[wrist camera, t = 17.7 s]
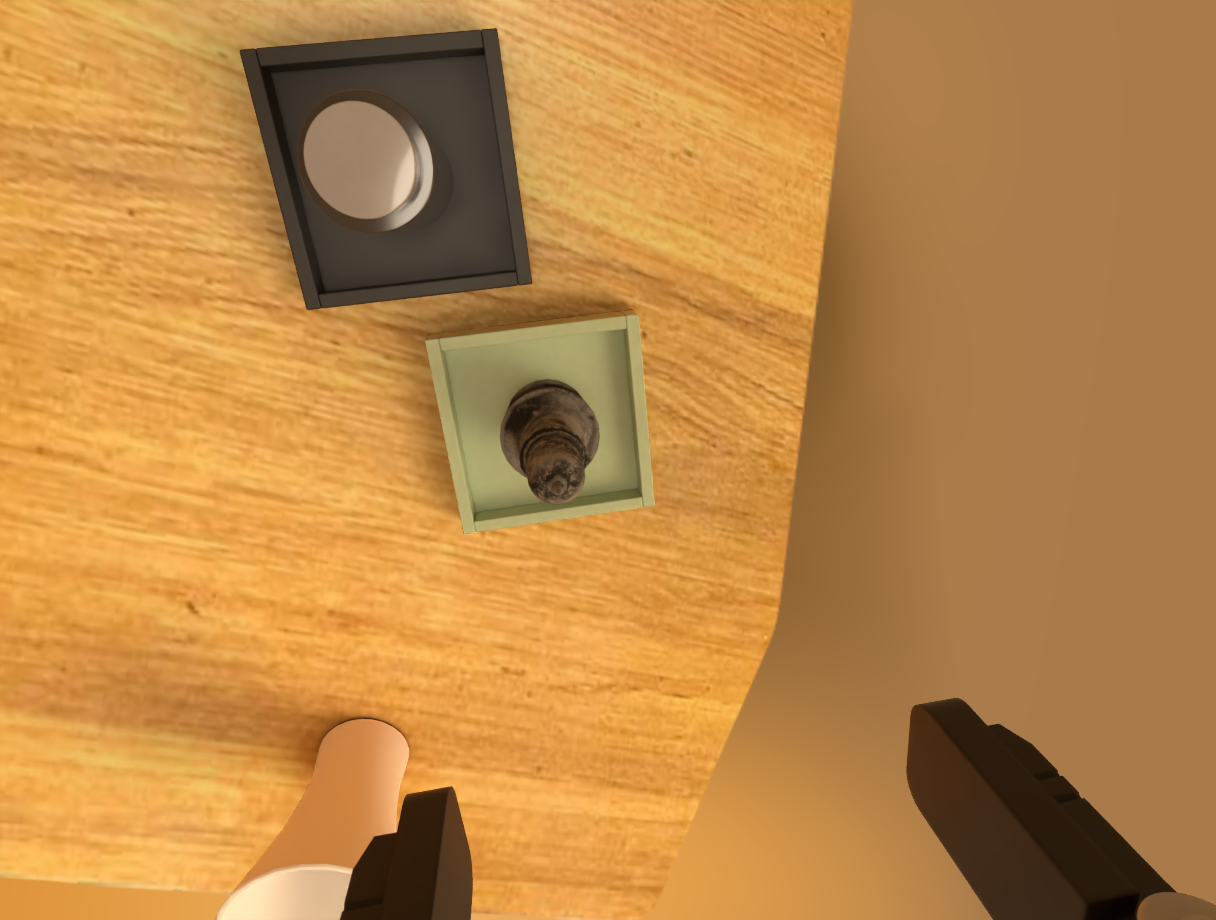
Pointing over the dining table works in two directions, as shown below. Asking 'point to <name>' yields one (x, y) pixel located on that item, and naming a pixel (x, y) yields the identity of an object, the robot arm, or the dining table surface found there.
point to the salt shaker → (550, 439)
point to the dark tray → (452, 113)
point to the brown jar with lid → (373, 164)
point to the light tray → (502, 365)
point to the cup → (327, 828)
